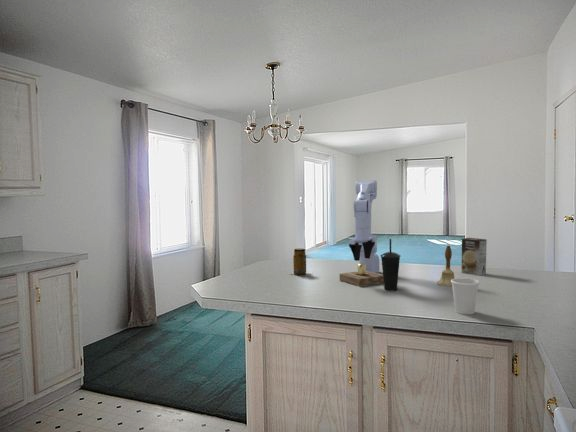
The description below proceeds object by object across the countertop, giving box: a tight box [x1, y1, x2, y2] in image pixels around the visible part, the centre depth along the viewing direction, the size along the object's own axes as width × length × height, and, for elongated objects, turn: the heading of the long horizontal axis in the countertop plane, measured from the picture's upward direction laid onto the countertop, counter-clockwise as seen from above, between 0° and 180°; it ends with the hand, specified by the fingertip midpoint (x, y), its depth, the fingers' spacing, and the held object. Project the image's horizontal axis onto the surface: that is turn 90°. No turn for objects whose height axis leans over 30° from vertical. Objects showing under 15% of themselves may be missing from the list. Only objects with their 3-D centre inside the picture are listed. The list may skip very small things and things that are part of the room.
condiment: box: [289, 248, 312, 277], centre depth 203 cm, size 7×8×12 cm
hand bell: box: [436, 245, 456, 287], centre depth 175 cm, size 8×8×16 cm
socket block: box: [339, 270, 384, 287], centre depth 184 cm, size 14×14×3 cm
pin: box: [357, 263, 366, 276], centre depth 184 cm, size 4×4×7 cm
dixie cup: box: [451, 277, 480, 315], centre depth 135 cm, size 8×8×10 cm
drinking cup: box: [380, 238, 401, 292], centre depth 168 cm, size 8×8×20 cm
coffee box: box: [460, 237, 488, 276], centre depth 197 cm, size 9×6×16 cm
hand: (362, 259), depth 183 cm, fingers open, 7 cm apart
